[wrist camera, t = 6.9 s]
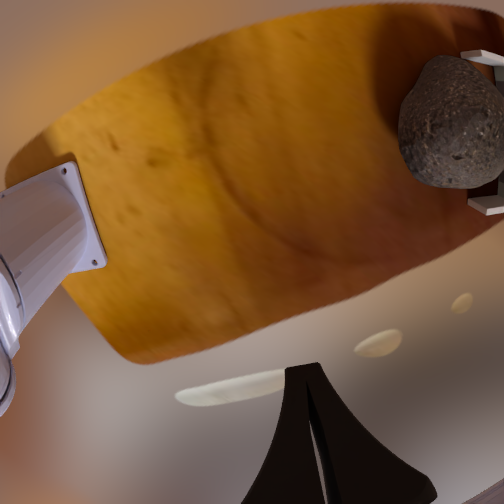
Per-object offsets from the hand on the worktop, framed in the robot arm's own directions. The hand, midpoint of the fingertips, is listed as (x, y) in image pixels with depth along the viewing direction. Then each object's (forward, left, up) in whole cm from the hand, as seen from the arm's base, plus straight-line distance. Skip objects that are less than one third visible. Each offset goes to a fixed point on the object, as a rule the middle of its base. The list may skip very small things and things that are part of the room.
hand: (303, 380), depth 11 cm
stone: (+13, +8, -11) cm, 19 cm away
